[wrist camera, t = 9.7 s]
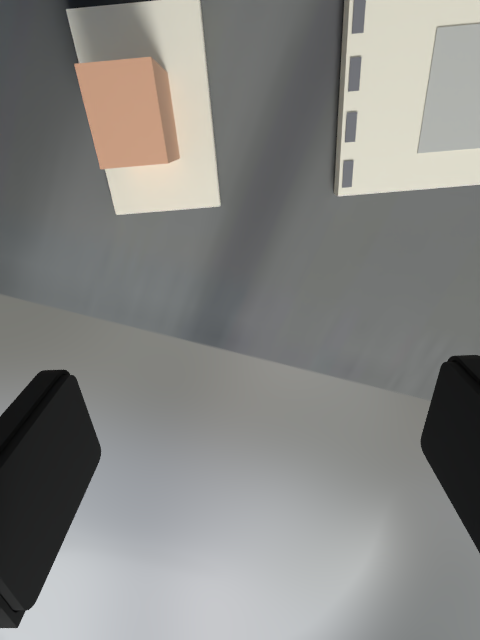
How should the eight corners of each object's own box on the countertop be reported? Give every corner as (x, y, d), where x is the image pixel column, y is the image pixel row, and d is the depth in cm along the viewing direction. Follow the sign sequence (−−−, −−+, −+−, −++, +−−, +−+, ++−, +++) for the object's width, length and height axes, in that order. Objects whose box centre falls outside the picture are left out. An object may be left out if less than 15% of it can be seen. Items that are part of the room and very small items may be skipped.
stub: (200, 3, 21) (189, -43, 16) (220, 203, 27) (217, 220, 21) (74, 15, 21) (19, -26, 16) (120, 211, 27) (92, 231, 22)
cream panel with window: (608, -36, 21) (630, -46, 19) (540, 176, 26) (554, 178, 25) (344, -11, 21) (351, -19, 20) (333, 193, 27) (338, 196, 26)
